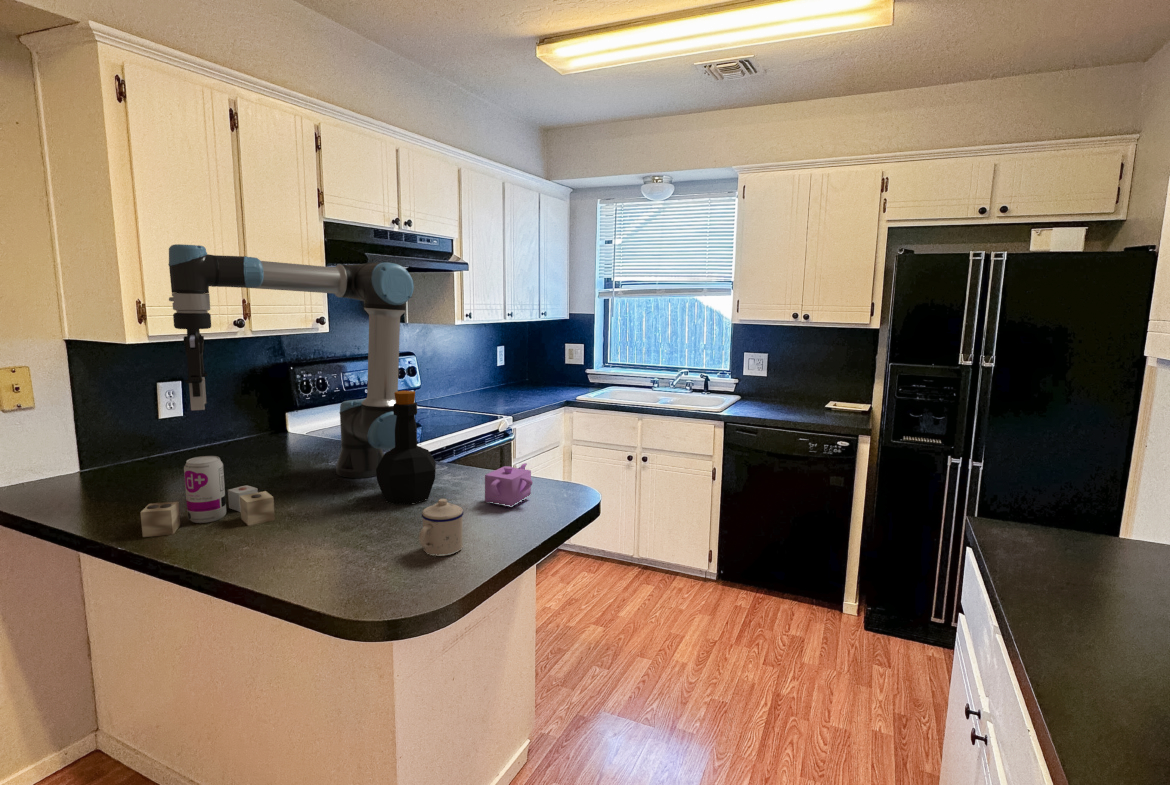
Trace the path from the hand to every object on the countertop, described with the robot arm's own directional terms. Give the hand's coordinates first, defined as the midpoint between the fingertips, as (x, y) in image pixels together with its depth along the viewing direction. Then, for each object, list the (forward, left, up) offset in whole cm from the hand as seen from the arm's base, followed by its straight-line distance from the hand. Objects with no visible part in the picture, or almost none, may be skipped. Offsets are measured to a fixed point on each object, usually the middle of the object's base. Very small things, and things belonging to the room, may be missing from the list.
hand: (199, 406), depth 151 cm
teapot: (-73, +20, -29) cm, 81 cm away
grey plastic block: (-8, -5, -28) cm, 30 cm away
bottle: (-48, +5, -28) cm, 56 cm away
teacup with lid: (-46, +44, -28) cm, 70 cm away
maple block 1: (+9, +5, -28) cm, 30 cm away
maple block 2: (-11, +6, -28) cm, 31 cm away
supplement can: (0, 0, -28) cm, 28 cm away
